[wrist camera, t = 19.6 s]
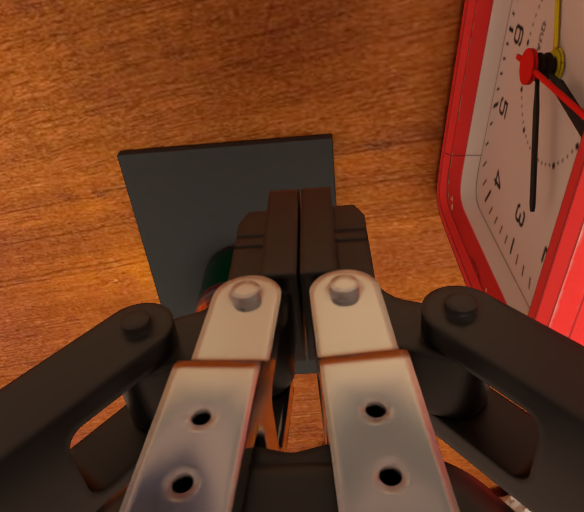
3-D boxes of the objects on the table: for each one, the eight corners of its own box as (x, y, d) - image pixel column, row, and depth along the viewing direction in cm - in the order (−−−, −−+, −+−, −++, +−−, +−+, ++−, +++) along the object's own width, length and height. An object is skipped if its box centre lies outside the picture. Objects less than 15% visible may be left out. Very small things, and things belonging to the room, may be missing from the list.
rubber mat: (119, 150, 32) (116, 155, 31) (331, 133, 31) (332, 138, 30) (184, 374, 42) (182, 380, 41) (345, 365, 41) (345, 371, 40)
